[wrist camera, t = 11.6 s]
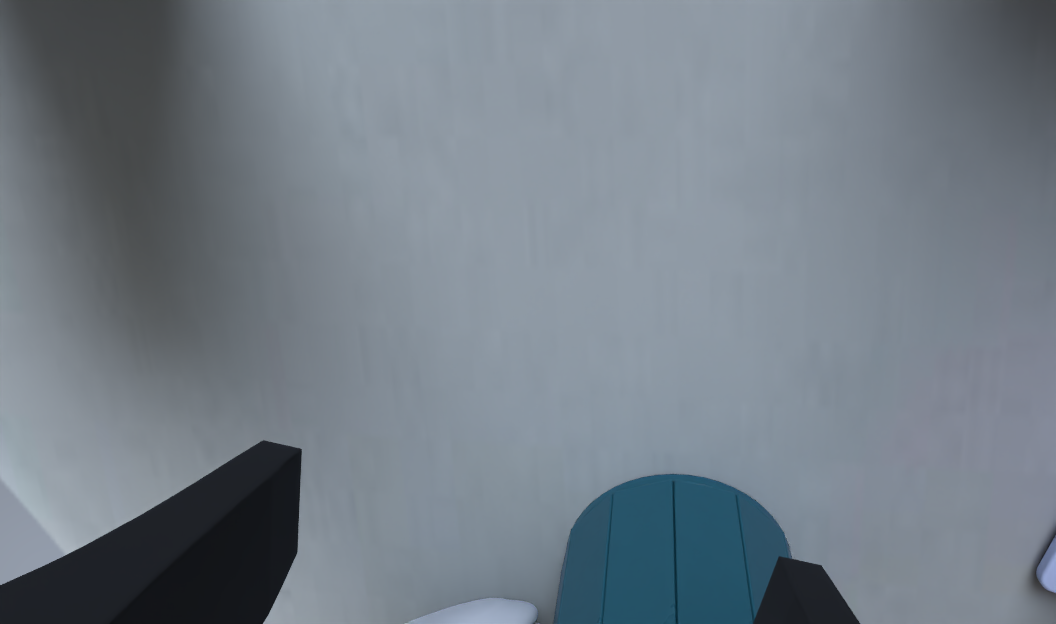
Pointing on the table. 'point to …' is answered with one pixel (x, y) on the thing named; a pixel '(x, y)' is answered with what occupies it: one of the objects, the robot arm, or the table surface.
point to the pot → (669, 555)
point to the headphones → (483, 613)
